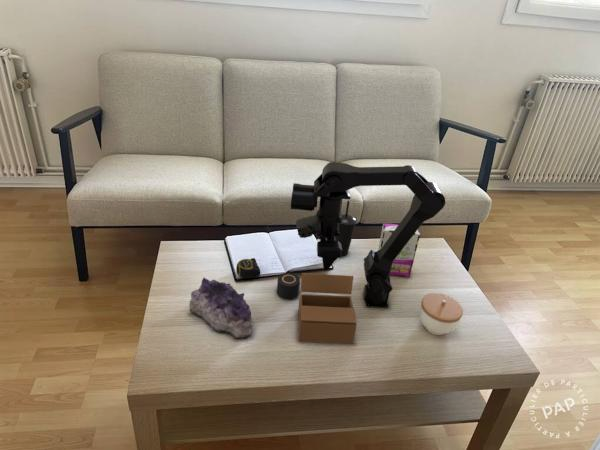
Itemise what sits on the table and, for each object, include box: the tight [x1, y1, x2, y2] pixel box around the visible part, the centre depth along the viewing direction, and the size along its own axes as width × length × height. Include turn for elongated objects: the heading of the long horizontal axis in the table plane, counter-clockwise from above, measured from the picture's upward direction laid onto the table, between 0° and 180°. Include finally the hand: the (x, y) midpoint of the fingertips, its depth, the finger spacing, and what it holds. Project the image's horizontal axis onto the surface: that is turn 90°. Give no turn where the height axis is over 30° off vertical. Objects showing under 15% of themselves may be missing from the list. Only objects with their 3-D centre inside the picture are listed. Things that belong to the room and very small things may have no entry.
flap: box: [299, 272, 355, 296], centre depth 111 cm, size 14×5×1 cm
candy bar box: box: [377, 222, 421, 278], centre depth 131 cm, size 11×5×16 cm, turn 84°
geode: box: [188, 277, 254, 340], centre depth 109 cm, size 20×12×10 cm, turn 53°
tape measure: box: [235, 257, 261, 279], centre depth 127 cm, size 7×7×4 cm
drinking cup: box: [334, 200, 358, 258], centre depth 137 cm, size 8×8×20 cm
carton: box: [297, 293, 358, 345], centre depth 109 cm, size 14×11×7 cm
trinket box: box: [419, 292, 464, 336], centre depth 112 cm, size 11×11×9 cm
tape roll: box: [276, 272, 301, 301], centre depth 121 cm, size 6×6×5 cm
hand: (324, 260), depth 115 cm, fingers open, 9 cm apart
